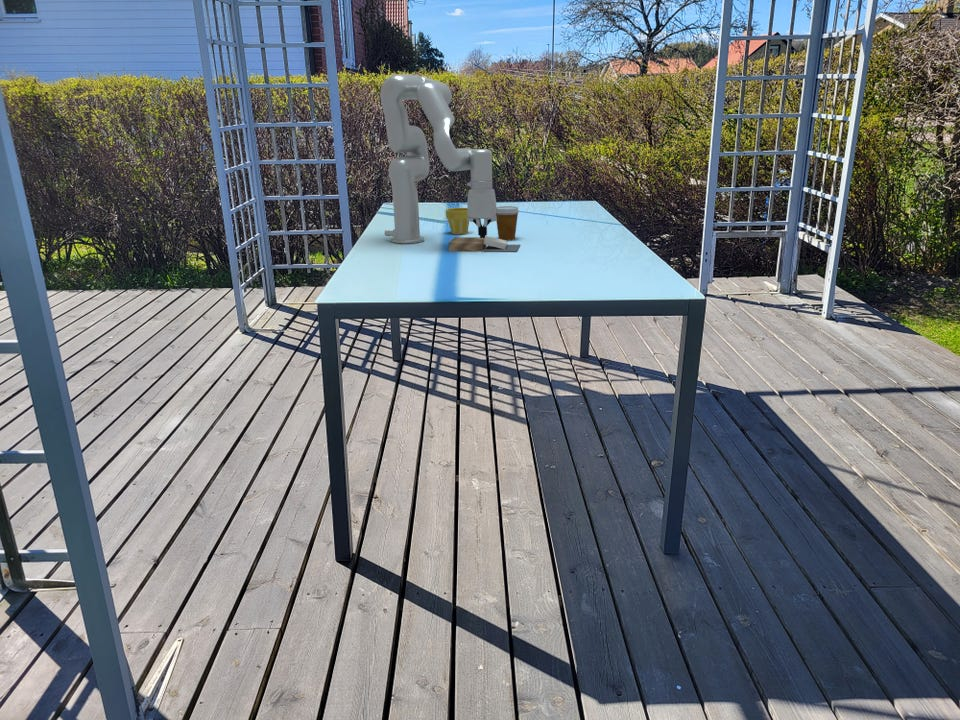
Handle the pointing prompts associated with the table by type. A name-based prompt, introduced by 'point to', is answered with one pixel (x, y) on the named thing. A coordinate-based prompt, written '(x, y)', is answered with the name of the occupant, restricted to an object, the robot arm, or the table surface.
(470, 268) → the table surface
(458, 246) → the block
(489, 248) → the mat
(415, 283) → the table surface
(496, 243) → the tile
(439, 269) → the table surface
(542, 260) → the table surface
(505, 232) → the disposable coffee cup
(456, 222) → the plant pot
